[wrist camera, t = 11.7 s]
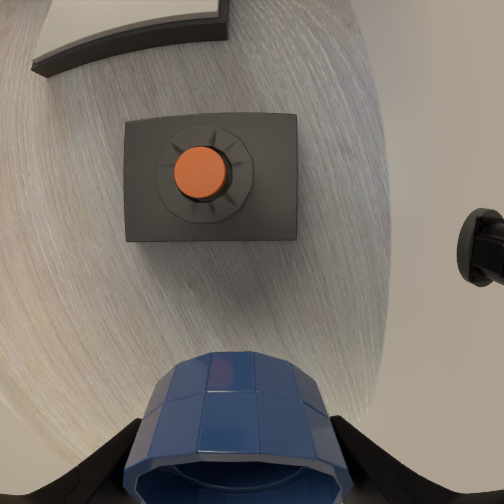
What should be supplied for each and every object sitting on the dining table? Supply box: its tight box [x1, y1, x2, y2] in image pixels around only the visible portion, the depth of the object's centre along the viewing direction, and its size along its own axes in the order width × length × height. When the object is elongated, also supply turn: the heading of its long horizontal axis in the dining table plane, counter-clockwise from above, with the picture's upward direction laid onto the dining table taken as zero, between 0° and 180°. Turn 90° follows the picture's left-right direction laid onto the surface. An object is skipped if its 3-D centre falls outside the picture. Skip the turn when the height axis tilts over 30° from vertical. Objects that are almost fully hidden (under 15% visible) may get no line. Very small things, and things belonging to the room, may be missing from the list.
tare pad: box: [124, 112, 298, 242], centre depth 16 cm, size 11×8×3 cm
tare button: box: [174, 147, 227, 198], centre depth 14 cm, size 3×3×2 cm
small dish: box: [122, 351, 354, 504], centre depth 7 cm, size 6×6×4 cm
